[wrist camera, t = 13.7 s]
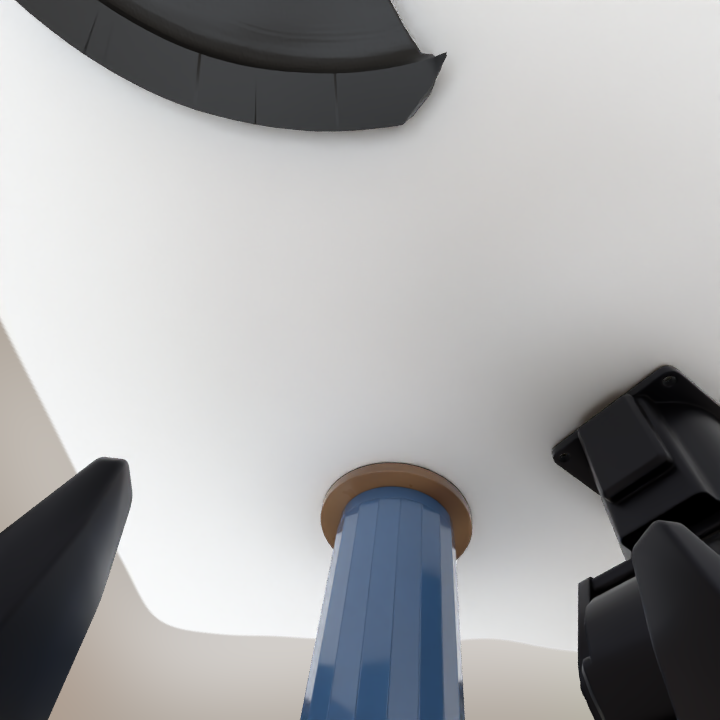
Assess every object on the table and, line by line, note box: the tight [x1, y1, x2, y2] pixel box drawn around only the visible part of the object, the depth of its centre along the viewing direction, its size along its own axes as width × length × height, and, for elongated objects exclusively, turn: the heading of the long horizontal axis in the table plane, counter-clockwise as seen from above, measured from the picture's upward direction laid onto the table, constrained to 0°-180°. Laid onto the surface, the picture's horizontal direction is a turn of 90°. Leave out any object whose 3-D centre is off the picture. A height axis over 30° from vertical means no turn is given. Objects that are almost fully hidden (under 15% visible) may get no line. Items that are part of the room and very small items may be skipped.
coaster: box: [321, 463, 472, 560], centre depth 27 cm, size 8×8×1 cm
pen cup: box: [300, 486, 465, 720], centre depth 22 cm, size 6×6×12 cm
